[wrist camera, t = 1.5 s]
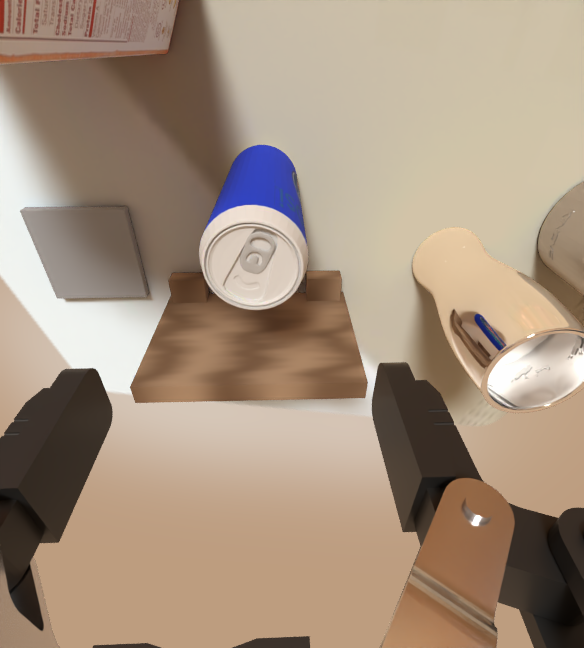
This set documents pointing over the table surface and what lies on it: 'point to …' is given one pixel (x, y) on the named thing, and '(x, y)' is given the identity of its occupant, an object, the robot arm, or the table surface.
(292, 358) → the walnut screen
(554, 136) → the table surface
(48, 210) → the slate mat
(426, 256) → the beer glass
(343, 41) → the table surface
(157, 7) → the cracker box
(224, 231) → the beverage can
